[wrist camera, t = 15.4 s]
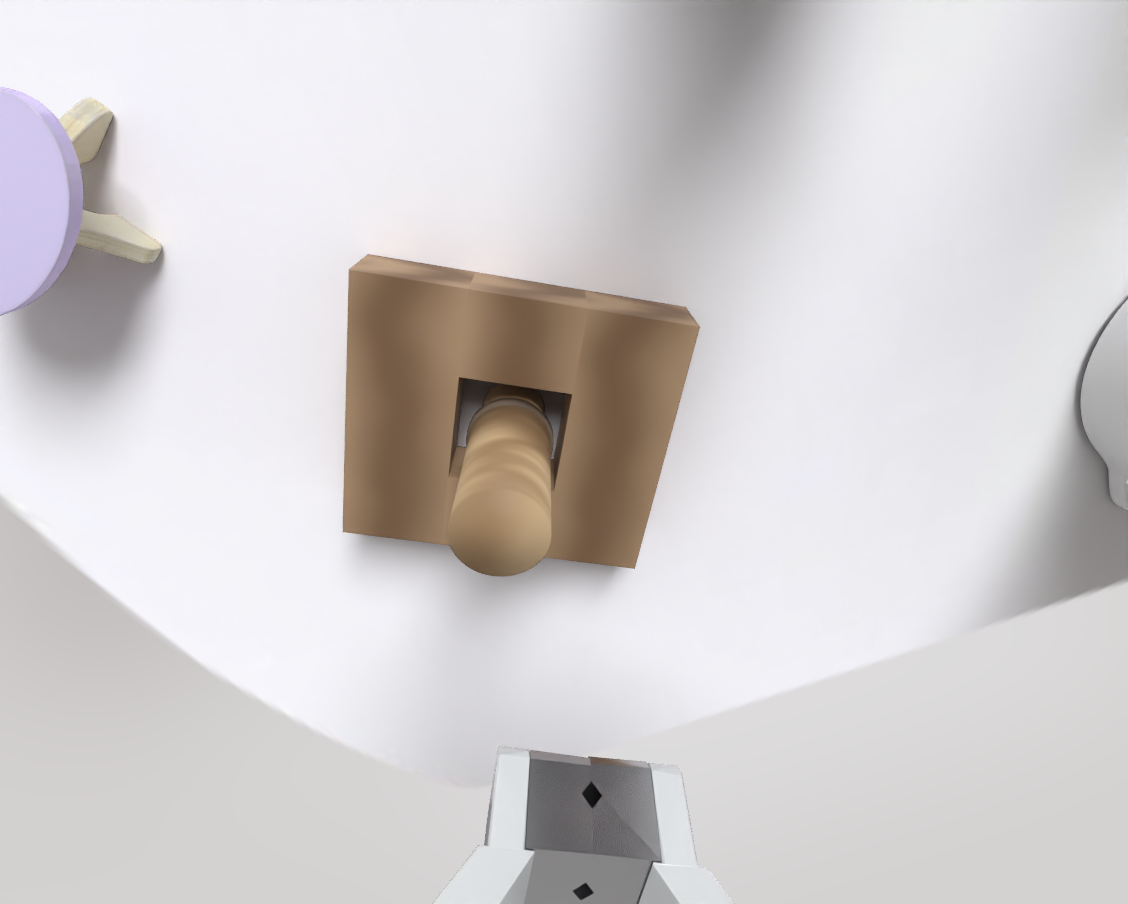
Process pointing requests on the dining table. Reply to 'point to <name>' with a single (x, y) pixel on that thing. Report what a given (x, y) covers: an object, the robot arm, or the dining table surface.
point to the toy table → (52, 197)
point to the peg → (504, 485)
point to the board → (515, 357)
